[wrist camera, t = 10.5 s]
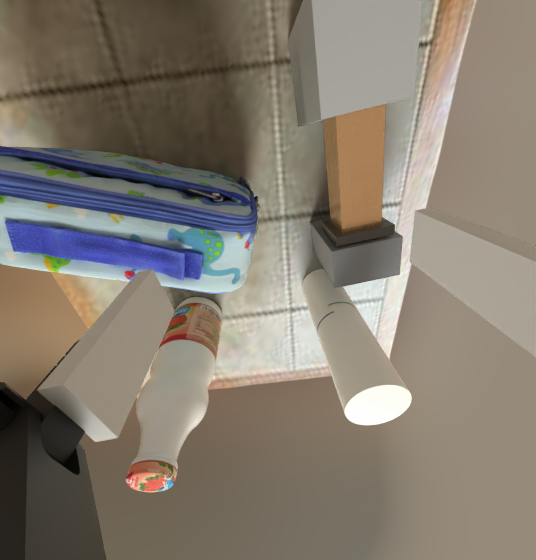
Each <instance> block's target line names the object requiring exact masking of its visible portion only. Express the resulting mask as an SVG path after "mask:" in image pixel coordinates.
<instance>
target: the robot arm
mask: <svg viewBox="0 0 536 560" xmlns="http://www.w3.org/2000/svg"><path fill="white" fill-rule="evenodd" d="M410 262H411V263H412V264H413V265H415V266H416V267H417V268H419V269H420V270H421V271H423V272H424V273H426V274H427V275H428V276H429V277H431V278H432V279H433V280H435V281H436V282H437V283H439V284H440V285H441V286H443V287H444V288H445V289H447V290H448V291H449V292H450V293H452V294H453V295H454V296H456V297H457V298H458V299H460V300H461V301H462V302H464V303H465V304H466V305H468V306H469V307H470V308H472V309H473V310H474V311H476V312H477V313H478V314H479V315H481V316H482V317H483V318H485V319H486V320H487V321H489V322H490V323H491V324H493V325H494V326H495V327H497V328H498V329H499V330H501V331H502V332H503V333H505V334H506V335H507V336H508V337H510V338H511V339H512V340H514V341H515V342H517V343H518V344H519V345H520V346H522V347H523V348H524V349H526V350H527V351H528V352H530V353H531V354H532V355H534V356H535V357H536V245H533V244H531V243H528V242H525V241H522V240H520V239H517V238H514V237H511V236H509V235H506V234H503V233H501V232H498V231H495V230H492V229H490V228H487V227H484V226H481V225H478V224H476V223H473V222H470V221H468V220H465V219H462V218H459V217H457V216H454V215H451V214H449V213H446V212H443V211H440V210H438V209H435V208H432V207H430V208H426V209H421V210H417V211H415V216H414V226H413V235H412V245H411V254H410ZM173 314H174V309H173V307H172V305H171V303H170V301H169V300H168V298H167V296H166V294H165V292H164V290H163V288H162V286H161V284H160V282H159V280H158V278H157V276H156V274H155V273H154V271H153V269H150V270H146V271H141V272H138V273H137V274H136V275H135V276H134V278H133V279H132V280H131V281H130V282H129V283H128V285H127V286H126V287H125V288H124V289H123V290H122V292H121V293H120V294H119V295H118V296H117V297H116V299H115V300H114V301H113V302H112V303H111V304H110V305H109V307H108V308H107V309H106V310H105V311H104V312H103V314H102V315H101V316H100V317H99V318H98V319H97V321H96V322H95V323H94V324H93V325H92V326H91V328H90V329H89V330H88V331H87V332H86V334H85V335H84V336H83V337H82V338H81V339H80V340H78V341H77V342H76V343H75V344H74V345H73V346H72V347H71V348H70V350H69V351H68V352H67V353H66V356H64V357H63V358H62V359H61V360H60V361H59V362H58V365H57V366H55V367H54V368H53V369H52V370H51V371H50V373H49V374H48V375H47V376H46V377H45V378H44V380H43V381H42V382H41V383H40V384H39V385H38V386H37V388H36V389H35V390H34V391H33V392H32V393H31V394H30V396H29V397H28V398H27V399H26V400H25V399H24V398H23V397H21V396H20V395H19V394H18V393H17V392H15V391H14V390H13V389H12V388H10V387H9V386H8V385H7V384H5V383H3V382H0V560H106V555H105V551H104V545H103V540H102V535H101V530H100V525H99V520H98V515H97V510H96V505H95V500H94V495H93V491H92V485H91V480H90V475H89V470H88V465H87V460H86V455H85V450H84V449H83V447H82V446H81V445H80V444H79V441H80V439H81V438H82V436H83V434H84V432H85V433H86V434H87V435H88V436H89V437H91V438H92V439H93V440H94V441H95V442H98V441H103V440H108V439H114V438H118V436H119V434H120V432H121V430H122V427H123V425H124V423H125V421H126V419H127V416H128V414H129V412H130V410H131V407H132V405H133V403H134V401H135V399H136V396H137V394H138V392H139V390H140V387H141V385H142V383H143V381H144V378H145V376H146V374H147V372H148V370H149V367H150V365H151V363H152V361H153V358H154V356H155V354H156V352H157V349H158V347H159V345H160V343H161V340H162V338H163V336H164V334H165V332H166V329H167V327H168V325H169V323H170V320H171V318H172V316H173Z"/></svg>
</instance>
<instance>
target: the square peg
mask: <svg viewBox="0 0 536 560" xmlns="http://www.w3.org/2000/svg"><path fill="white" fill-rule="evenodd" d="M385 110H386V104H383V105H379V106H375V107H371V108H367V109H363V110H359V111H355V112H351V113H347V114H343V115H339V116H334V117H331V118H327V119H324V120H323V128H324V141H325V154H326V167H327V180H328V193H329V206H330V219H327V220H323V221H321V224H322V229H323V230H324V232H325V233H326V234H327V235H328V236H329V238H330V239H331V240H332V241H333V243H334V244H335V245H336V246H341V245H346V244H351V243H355V242H360V241H364V240H369V239H374V238H378V237H383V236H387V235H392V234H394V230H395V225H394V224H393V223H391V222H389V221H387V220H386V219H384V218H382V196H383V167H384V138H385Z"/></svg>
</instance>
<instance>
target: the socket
mask: <svg viewBox="0 0 536 560" xmlns="http://www.w3.org/2000/svg"><path fill="white" fill-rule="evenodd" d="M327 219H330V218H327ZM327 219H322V220H318V221H313V222H310V226H311V234H312V242H313V250H314V253H315V255H316V256H317V258H318V260H319V262H320V263H321V265H322V267H323V269H324V270H325V272H326V274H327V276H328V277H329V279H330V281H331V283H332V284H333V286H334V288H338V287H342V286H347V285H352V284H357V283H362V282H366V281H371V280H376V279H381V278H386V277H390V276H395V275H400V263H401V251H402V239H403V236H401V235H400V234H398V233H396V232H395V231H394V234H392V235H387V236H383V237H378V238H374V239H369V240H364V241H360V242H355V243H351V244H346V245H341V246H336V245H335V244H334V243H333V241H332V240H331V239H330V238H329V236H328V235H327V234H326V233H325V232H324V230H323V229H322V224H321V221H323V220H327Z"/></svg>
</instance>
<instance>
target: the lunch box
mask: <svg viewBox="0 0 536 560" xmlns="http://www.w3.org/2000/svg"><path fill="white" fill-rule="evenodd" d="M240 181H241V182H239V181H237V180H235V179H232V178H230V177H227V176H224V175H222V174H218V173H215V172H210V171H205V170H197V169H192V168H183V167H179V166H175V165H172V164H168V163H164V162H160V161H155V160H151V159H147V158H141V157H136V156H130V155H124V154H119V153H112V152H100V151H91V150H79V149H63V148H31V147H2V146H0V264H4V265H9V266H15V267H22V268H29V269H36V270H42V271H50V272H57V273H65V274H73V275H80V276H87V277H95V278H104V279H112V280H120V281H127V282H130V281H131V280H132V279H133V278H134V276H135V275H136V274H137V273H138V272H141V271H146V270H150V269H153V271H154V273H155V274H156V276H157V278H158V280H159V282H160V284H161V286H165V287H172V288H179V289H185V290H191V291H197V292H203V293H209V294H221V293H227V292H230V291H233V290H236V289H238V288H240V287H241V286H242V285H243V284H244V282H245V280H246V277H247V273H248V268H249V265H250V262H251V259H252V253H253V247H254V243H255V238H256V234H257V230H258V225H257V223H258V214H259V209H260V206H259V204H258V203H257V202H258V197H257V196H256V197H254V194H253V192H252V191H251V188H250V186H249V184H248V182H247V181H246V180H245V179H243V178H241V177H240Z"/></svg>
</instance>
